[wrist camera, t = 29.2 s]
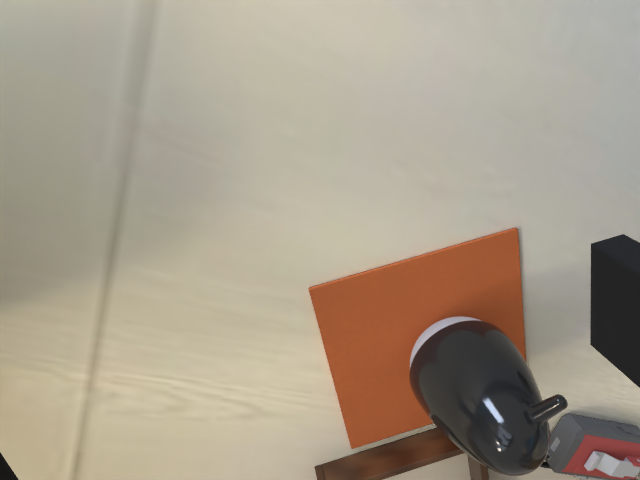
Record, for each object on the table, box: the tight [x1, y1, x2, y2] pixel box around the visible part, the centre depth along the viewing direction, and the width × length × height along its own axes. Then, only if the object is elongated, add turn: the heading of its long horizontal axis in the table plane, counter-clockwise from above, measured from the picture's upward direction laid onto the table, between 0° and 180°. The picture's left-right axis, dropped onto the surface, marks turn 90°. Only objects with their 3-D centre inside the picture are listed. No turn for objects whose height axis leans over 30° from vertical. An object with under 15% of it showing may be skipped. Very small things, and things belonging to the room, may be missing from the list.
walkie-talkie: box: [540, 414, 640, 480], centre depth 61 cm, size 9×4×20 cm
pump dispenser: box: [409, 316, 568, 476], centre depth 45 cm, size 10×10×15 cm
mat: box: [309, 228, 526, 449], centre depth 52 cm, size 20×20×1 cm
